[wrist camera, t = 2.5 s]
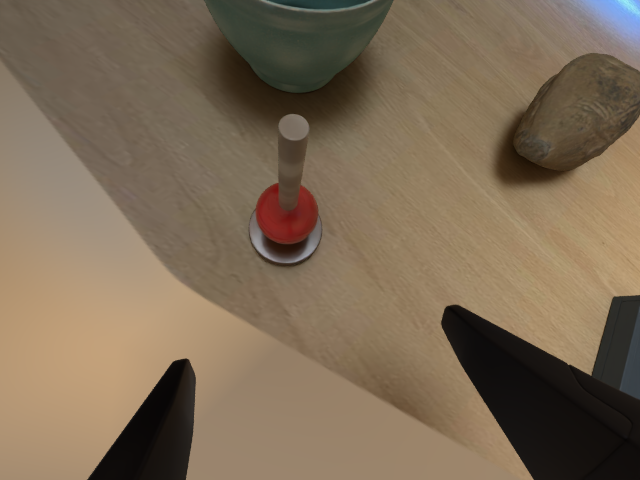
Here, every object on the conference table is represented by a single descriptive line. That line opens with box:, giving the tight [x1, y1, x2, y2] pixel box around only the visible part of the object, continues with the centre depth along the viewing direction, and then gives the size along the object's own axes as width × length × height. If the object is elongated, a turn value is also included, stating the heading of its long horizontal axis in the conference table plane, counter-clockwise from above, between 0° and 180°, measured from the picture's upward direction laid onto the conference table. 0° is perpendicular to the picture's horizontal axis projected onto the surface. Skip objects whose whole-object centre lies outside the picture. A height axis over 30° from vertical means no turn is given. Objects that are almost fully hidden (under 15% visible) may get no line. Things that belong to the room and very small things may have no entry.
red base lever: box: [249, 114, 322, 266], centre depth 18 cm, size 6×6×14 cm
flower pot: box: [204, 0, 393, 93], centre depth 24 cm, size 16×16×11 cm
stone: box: [513, 53, 640, 171], centre depth 27 cm, size 17×9×8 cm, turn 131°
